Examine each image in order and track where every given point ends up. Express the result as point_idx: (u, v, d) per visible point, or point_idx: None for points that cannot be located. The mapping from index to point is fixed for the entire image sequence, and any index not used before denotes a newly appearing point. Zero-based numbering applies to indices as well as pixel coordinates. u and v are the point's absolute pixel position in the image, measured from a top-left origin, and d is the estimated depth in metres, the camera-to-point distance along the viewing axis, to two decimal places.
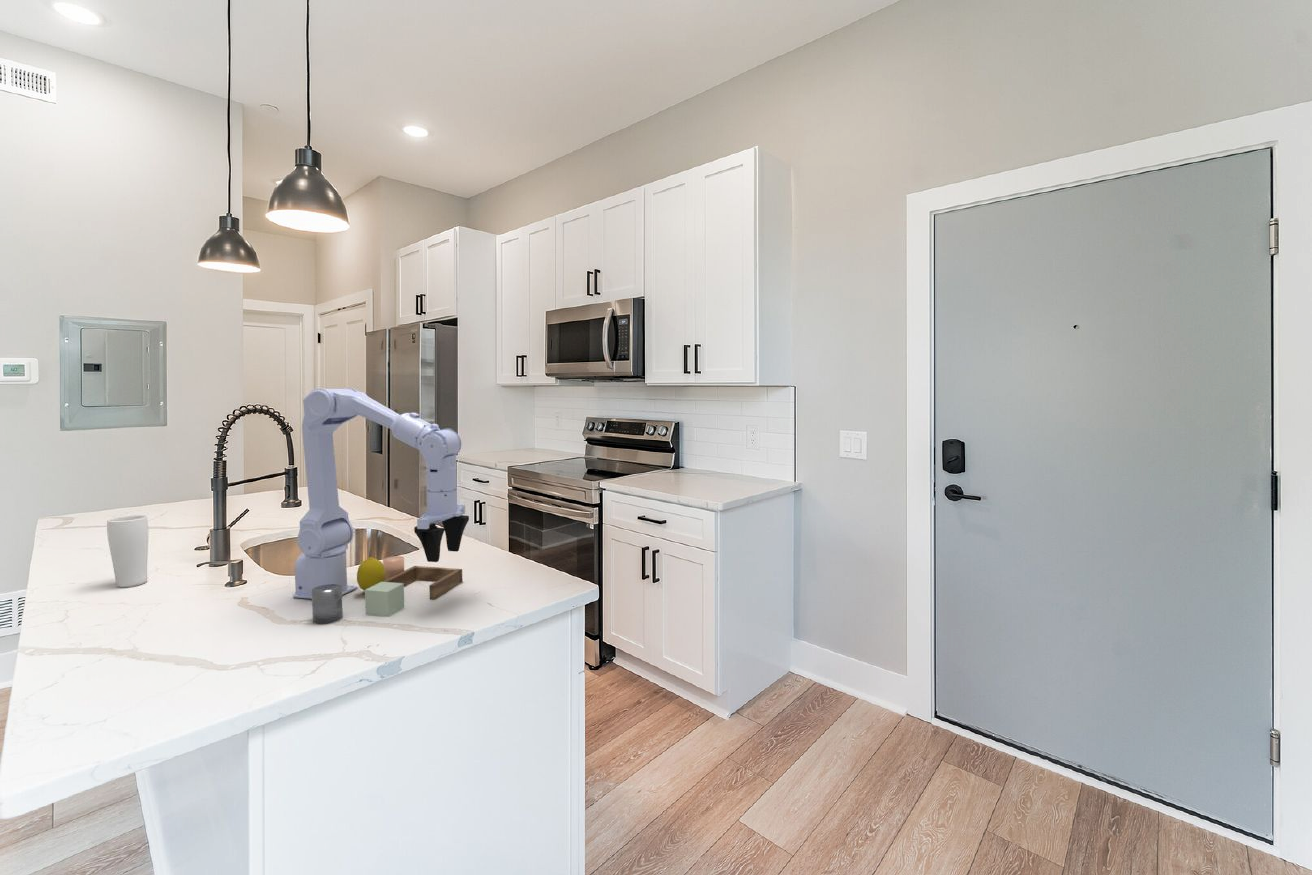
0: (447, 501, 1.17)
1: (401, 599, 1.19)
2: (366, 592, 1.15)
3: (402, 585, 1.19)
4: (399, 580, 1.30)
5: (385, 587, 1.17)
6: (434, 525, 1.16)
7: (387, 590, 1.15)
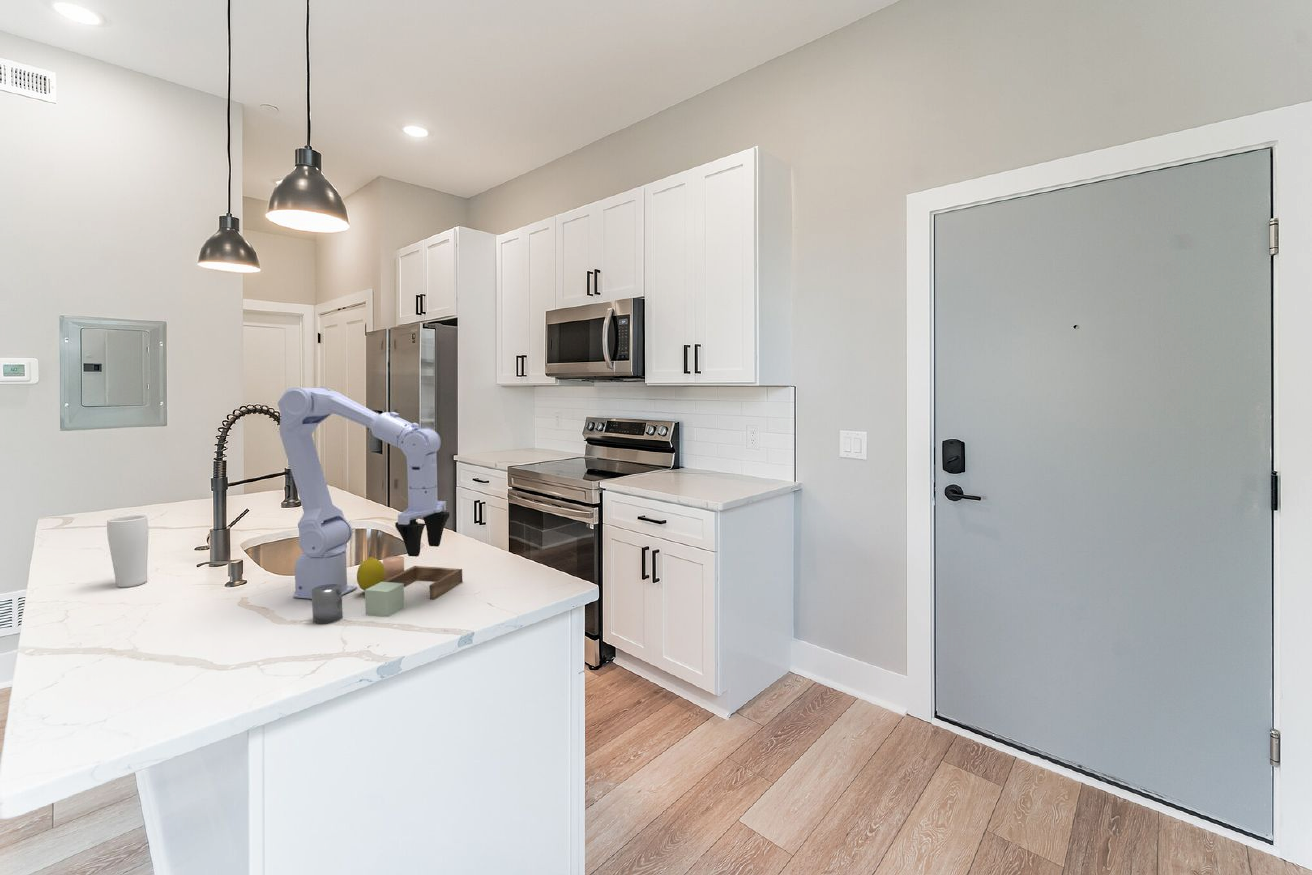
0: (428, 498, 1.22)
1: (401, 599, 1.19)
2: (366, 592, 1.15)
3: (402, 585, 1.19)
4: (399, 580, 1.30)
5: (385, 587, 1.17)
6: (415, 521, 1.20)
7: (387, 590, 1.15)
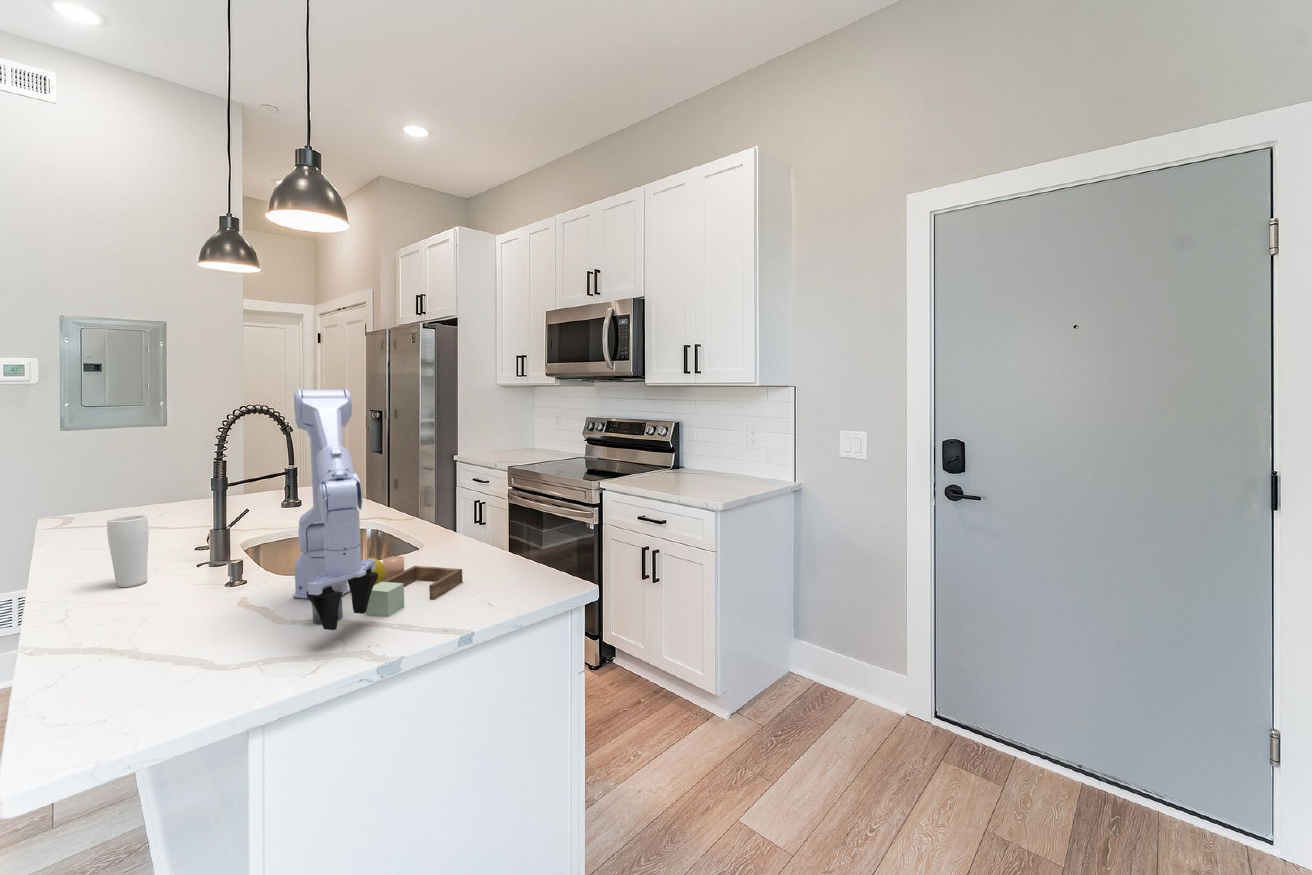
0: (347, 561, 1.04)
1: (401, 599, 1.19)
2: None
3: (402, 585, 1.19)
4: (399, 580, 1.30)
5: (385, 587, 1.17)
6: (330, 589, 1.02)
7: (387, 590, 1.15)
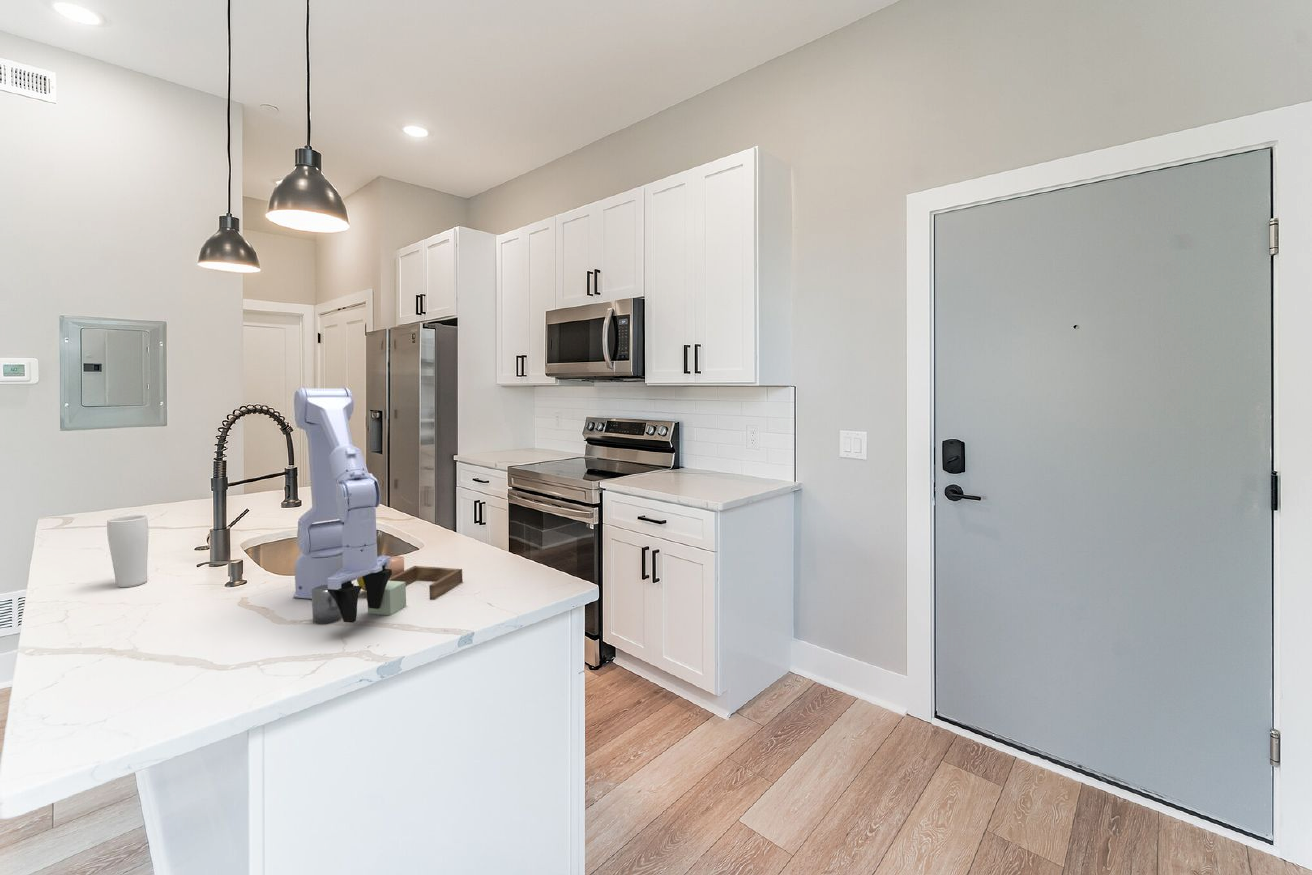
0: (364, 557, 1.08)
1: (403, 597, 1.19)
2: None
3: (404, 583, 1.19)
4: (399, 580, 1.30)
5: (387, 585, 1.17)
6: (348, 584, 1.06)
7: (389, 588, 1.16)
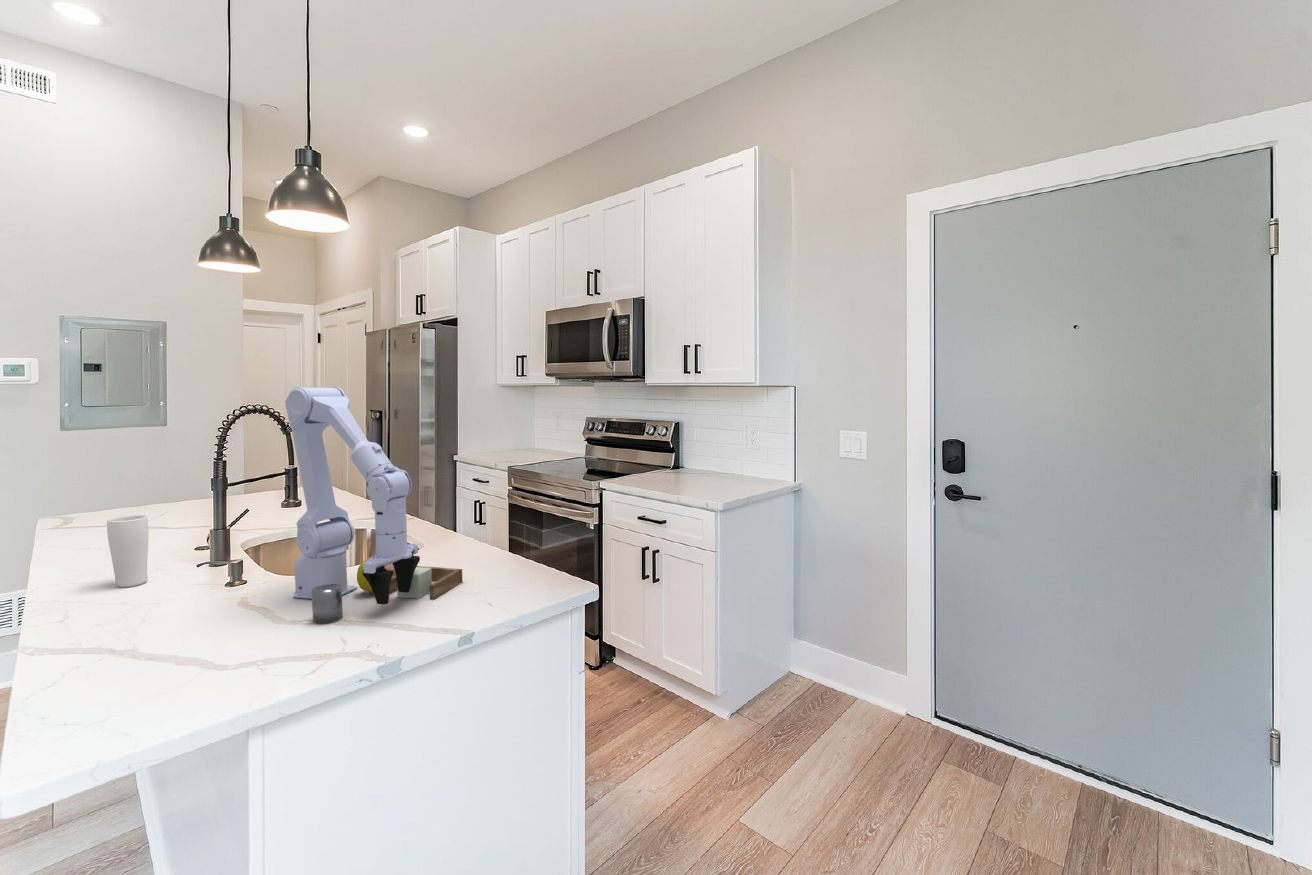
0: (396, 544, 1.17)
1: (429, 582, 1.28)
2: None
3: (430, 570, 1.29)
4: None
5: (415, 571, 1.26)
6: (382, 568, 1.15)
7: (417, 574, 1.25)
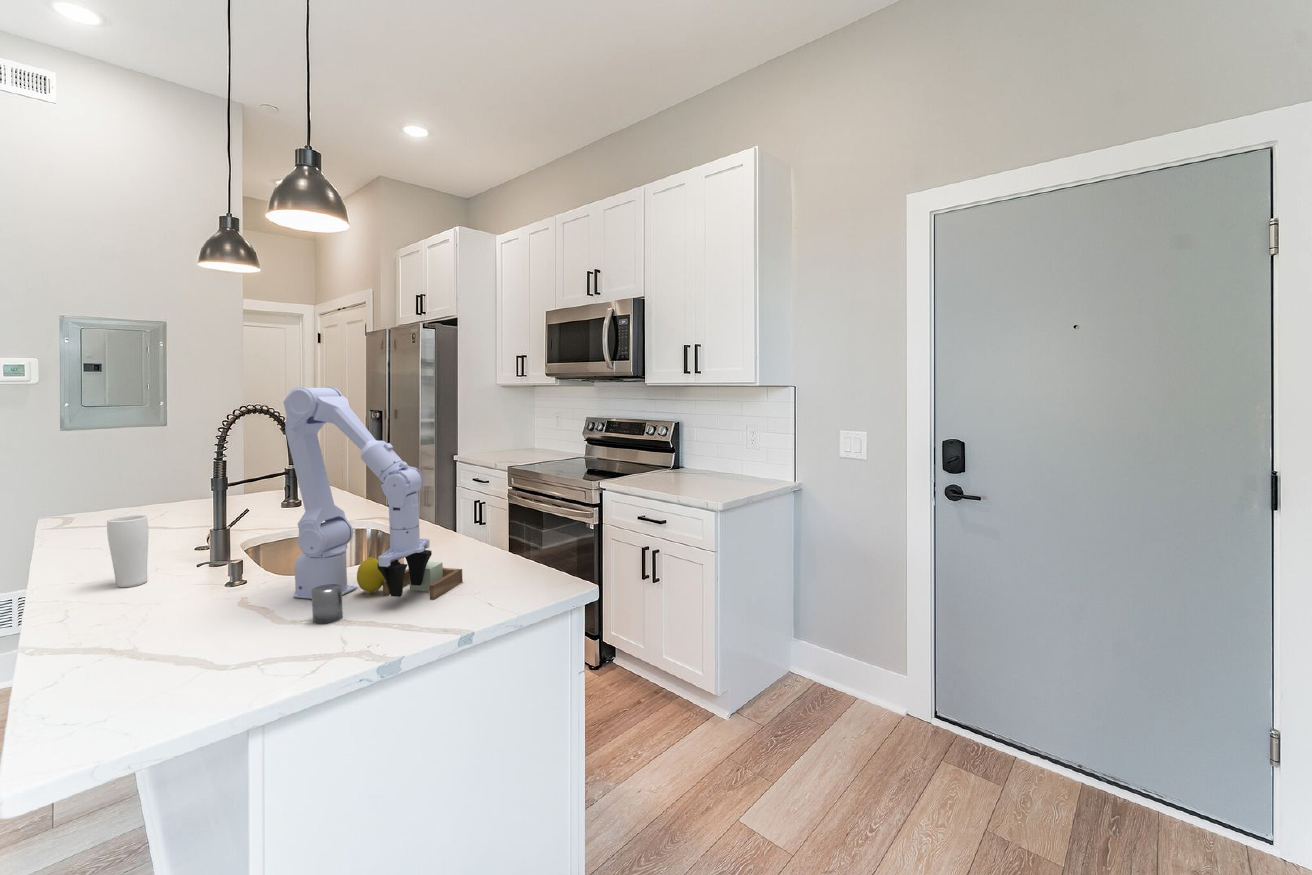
0: (409, 538, 1.21)
1: (440, 576, 1.33)
2: None
3: (441, 564, 1.33)
4: None
5: (426, 565, 1.31)
6: (396, 562, 1.19)
7: (429, 568, 1.29)
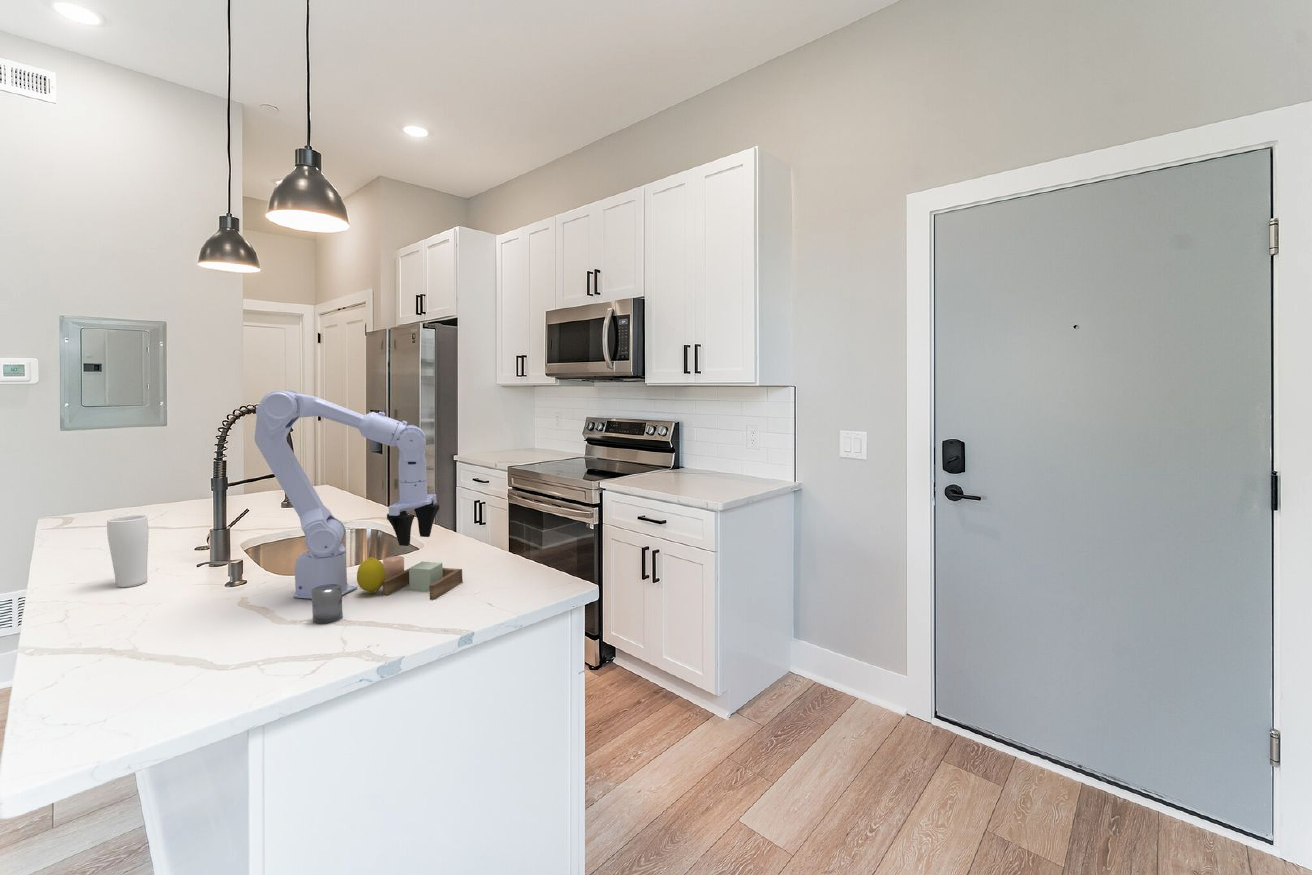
0: (417, 491, 1.29)
1: (440, 577, 1.33)
2: (410, 570, 1.29)
3: (441, 564, 1.33)
4: (399, 580, 1.30)
5: (426, 566, 1.31)
6: (405, 512, 1.27)
7: (429, 568, 1.29)
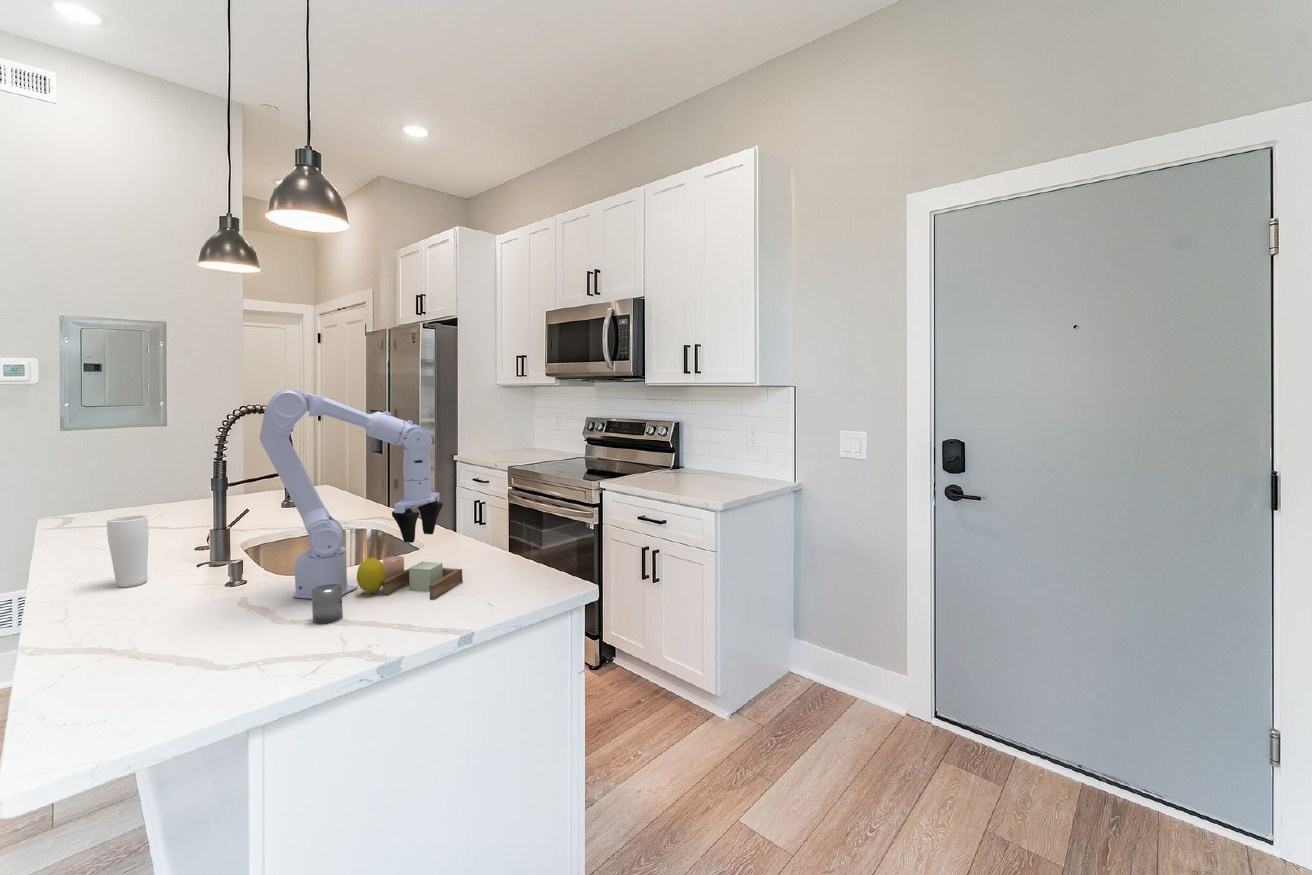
0: (422, 489, 1.32)
1: (440, 577, 1.33)
2: (410, 570, 1.29)
3: (441, 564, 1.33)
4: (399, 580, 1.30)
5: (426, 566, 1.31)
6: (410, 510, 1.30)
7: (429, 568, 1.29)
